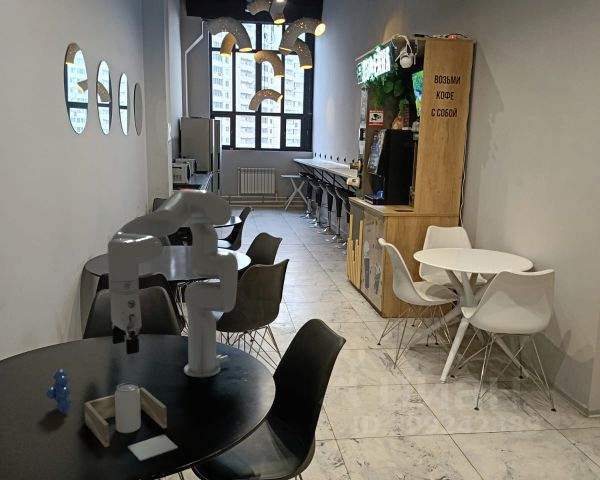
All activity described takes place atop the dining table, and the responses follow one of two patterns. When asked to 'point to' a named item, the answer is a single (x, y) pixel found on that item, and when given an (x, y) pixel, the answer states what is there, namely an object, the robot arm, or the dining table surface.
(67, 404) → the grapes
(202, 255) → the robot arm
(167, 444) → the mat
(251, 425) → the dining table surface
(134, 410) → the can
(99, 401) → the wooden u-shaped frame
